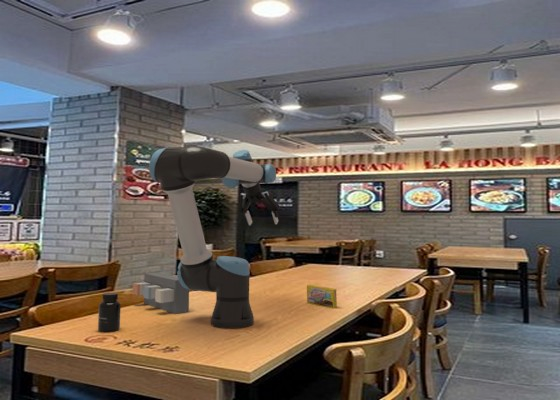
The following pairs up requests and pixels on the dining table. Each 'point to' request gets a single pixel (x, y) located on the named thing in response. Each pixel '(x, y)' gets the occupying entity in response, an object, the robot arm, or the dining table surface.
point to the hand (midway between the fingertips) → (263, 223)
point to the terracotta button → (139, 288)
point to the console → (180, 293)
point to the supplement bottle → (109, 313)
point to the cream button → (164, 295)
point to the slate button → (151, 291)
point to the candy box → (321, 296)
